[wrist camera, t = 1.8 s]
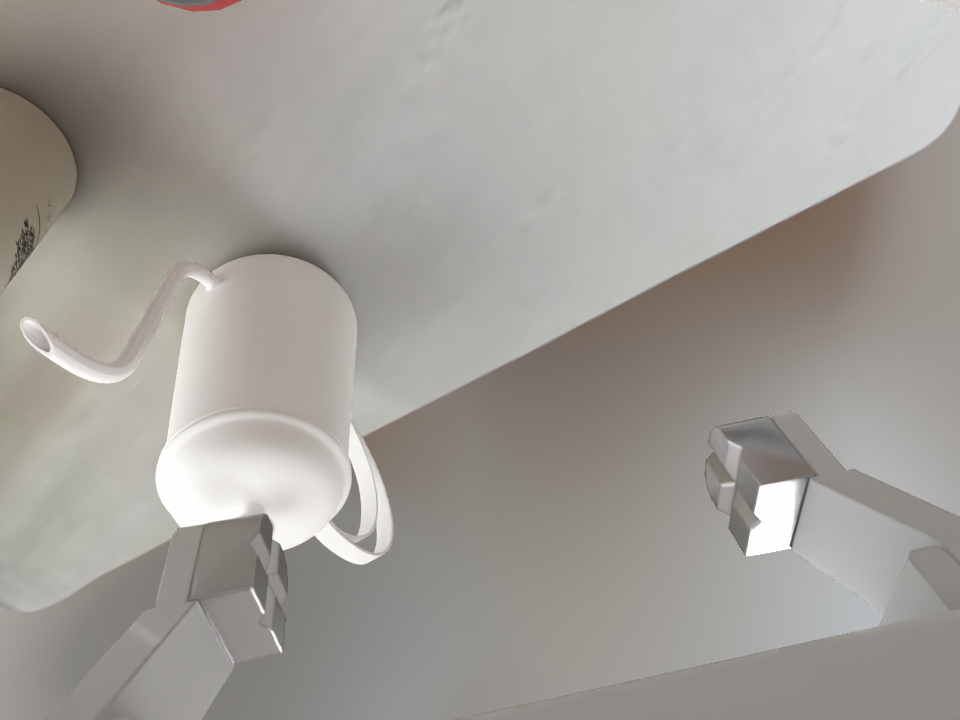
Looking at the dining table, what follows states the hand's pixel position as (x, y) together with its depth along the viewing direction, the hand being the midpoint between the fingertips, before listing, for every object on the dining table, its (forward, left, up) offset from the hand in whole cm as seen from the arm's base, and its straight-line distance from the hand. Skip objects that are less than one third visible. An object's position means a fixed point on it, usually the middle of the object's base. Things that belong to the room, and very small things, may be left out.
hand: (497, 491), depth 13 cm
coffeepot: (+9, -15, -33) cm, 37 cm away
